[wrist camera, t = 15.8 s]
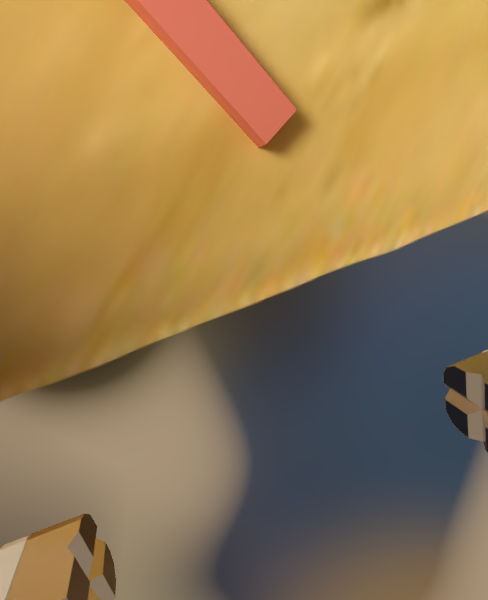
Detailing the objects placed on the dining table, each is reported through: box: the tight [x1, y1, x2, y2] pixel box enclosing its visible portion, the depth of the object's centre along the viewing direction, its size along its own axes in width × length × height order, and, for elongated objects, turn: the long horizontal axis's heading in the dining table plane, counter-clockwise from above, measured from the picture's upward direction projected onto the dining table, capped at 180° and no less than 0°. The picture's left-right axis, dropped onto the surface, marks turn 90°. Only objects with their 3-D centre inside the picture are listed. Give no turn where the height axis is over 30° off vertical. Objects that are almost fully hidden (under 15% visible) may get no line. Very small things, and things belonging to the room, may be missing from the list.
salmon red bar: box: [125, 0, 297, 148], centre depth 30 cm, size 4×22×3 cm, turn 46°
